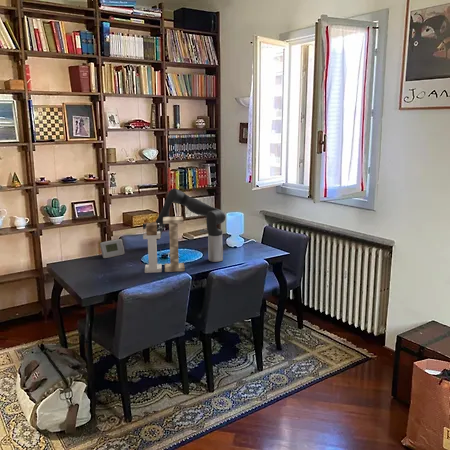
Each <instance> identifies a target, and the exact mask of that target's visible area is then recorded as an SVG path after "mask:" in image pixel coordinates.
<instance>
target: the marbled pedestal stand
mask: <svg viewBox="0 0 450 450" xmlns="http://www.w3.org/2000/svg"><path fill="white" fill-rule="evenodd" d="M163 224H165V225H167V224H168V227H169V228H168V230H169V231H168V232H169V257H170V258H169V262H170V263H164V272H165V273H168V272H169V273H170V272H171V273H172V272H175V273H176V272H185V270H186V269H185V268H186V267H185V263H184V262H180V261H179V260H180V259H179V232H178V231H179V229H178V226H179V225H178V224H184V216H169V217H163Z"/></svg>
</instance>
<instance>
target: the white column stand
mask: <svg viewBox="0 0 450 450" xmlns="http://www.w3.org/2000/svg"><path fill="white" fill-rule="evenodd" d="M142 239H143V240H147V252H148V253H147V255H148V264H145V265H144V273H145V274H151V273H162V271H163V269H162V263H158V250H157V240H156V239H159V240H160V239H161V238H160V231H159V232H157V235H147V232H146V231H144V232H143V235H142Z"/></svg>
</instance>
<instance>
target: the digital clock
mask: <svg viewBox="0 0 450 450" xmlns="http://www.w3.org/2000/svg"><path fill="white" fill-rule="evenodd" d="M123 244H124V243H123V239H122V238H118V239H111V240H106V241H102V242H100V243H99V245H100V246H99V247H100V250H101V255H102V258H103V259H110V258H111V259H112V258H115V257H119V256H122V255H125V253H126V252H125V247H124V245H123Z"/></svg>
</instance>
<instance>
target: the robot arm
mask: <svg viewBox="0 0 450 450" xmlns="http://www.w3.org/2000/svg"><path fill="white" fill-rule="evenodd" d="M173 203H175V204H178V205H180V206H181V205H182V206H184V207H185V208H187V210H188V211H190V212H192V213H193V214H195V215H197V216H198V215H199V216H204V217H205V218H206V231H207V237H208V238H207V244H208V245H207V247H208V248H207V251H208V256H207V258H208V261H210V262H212V263H215V262H222V261H223V260H224V246H223V229H221V228H218V227H217V225H220V224H223V223H224V222H225V220H226V214H225V212H224V211H223V210H222V209H219V208H217V207H214V206H211V205H210V204H207V203H205V202H203V201H201V200H200V199H198V198H195V197H191V196H189V195H187V194H186V193H185V192H184V191H181V190H179V189H178V188H171V189H170V190H169V192H168V194H167V196H166V198H165V200H164V203H163V205H162V208H161V211H160V213H159V215H158V216H157V218H156V220H155V221H152V222H151V223H157V232H159V231H160V239H161V237H162V234H163V230H165V226H166V224H163V217H170V209H171V206H172V204H173ZM147 223H149V222H146V223H142V229H143V230H146V224H147ZM160 239H156V241H159V240H160Z"/></svg>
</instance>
